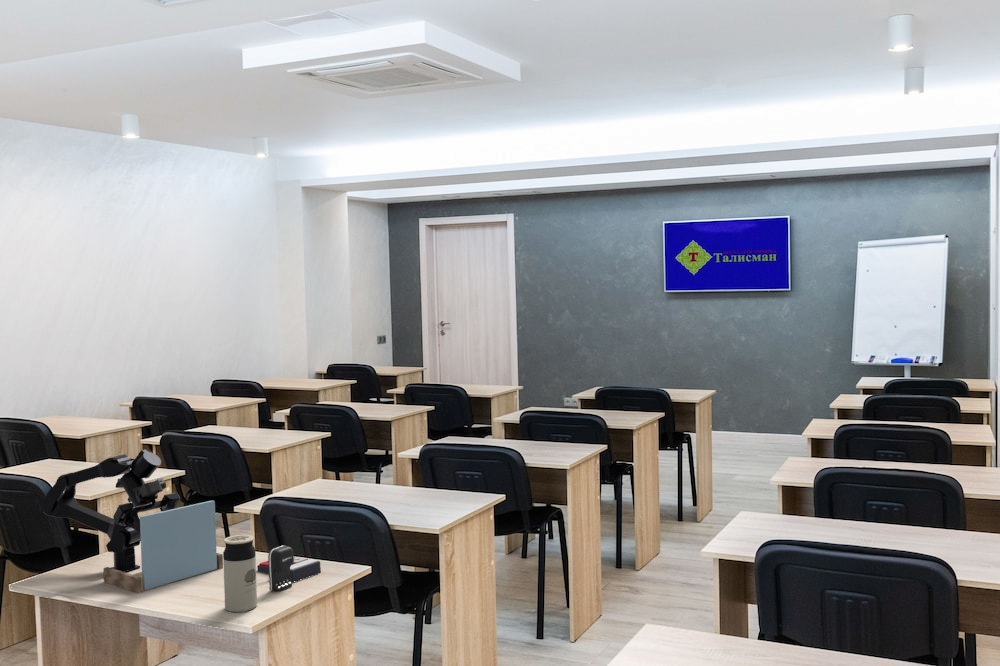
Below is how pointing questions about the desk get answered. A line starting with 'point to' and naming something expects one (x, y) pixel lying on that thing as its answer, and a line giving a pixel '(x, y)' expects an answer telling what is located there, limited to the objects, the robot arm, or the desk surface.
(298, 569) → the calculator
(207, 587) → the desk surface
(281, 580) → the battery charger
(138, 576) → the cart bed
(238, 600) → the travel mug
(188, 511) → the panel
